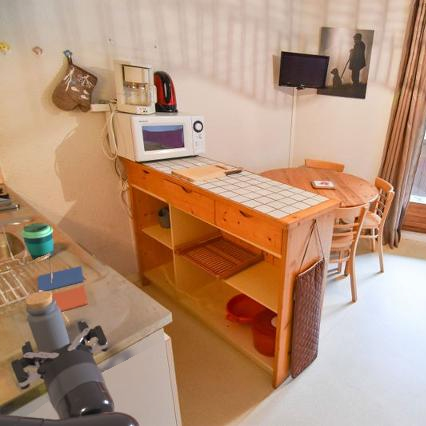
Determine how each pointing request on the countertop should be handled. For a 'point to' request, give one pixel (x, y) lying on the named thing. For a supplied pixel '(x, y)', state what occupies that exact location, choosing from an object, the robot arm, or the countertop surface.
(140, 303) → the countertop surface
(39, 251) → the cup
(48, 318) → the bottle
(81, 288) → the mats
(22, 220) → the countertop surface
